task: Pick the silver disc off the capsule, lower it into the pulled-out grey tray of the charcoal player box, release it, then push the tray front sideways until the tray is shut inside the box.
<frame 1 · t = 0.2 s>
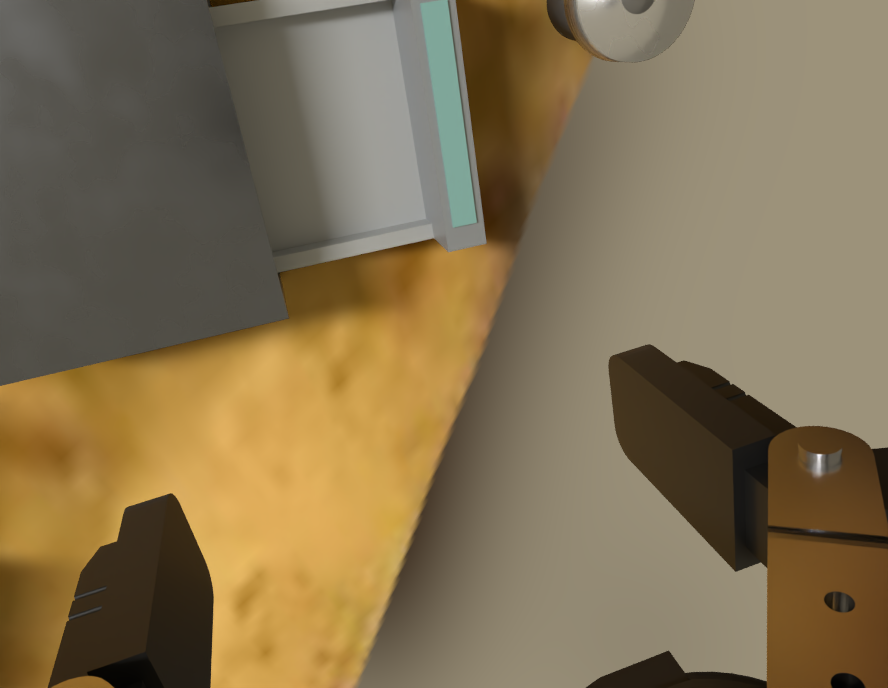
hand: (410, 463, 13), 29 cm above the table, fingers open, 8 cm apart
tray: (307, 138, 35), point 3 cm above the table, slide at 8.0 cm
housing: (104, 168, 36), on the table
capsule: (581, 0, 39), on the table
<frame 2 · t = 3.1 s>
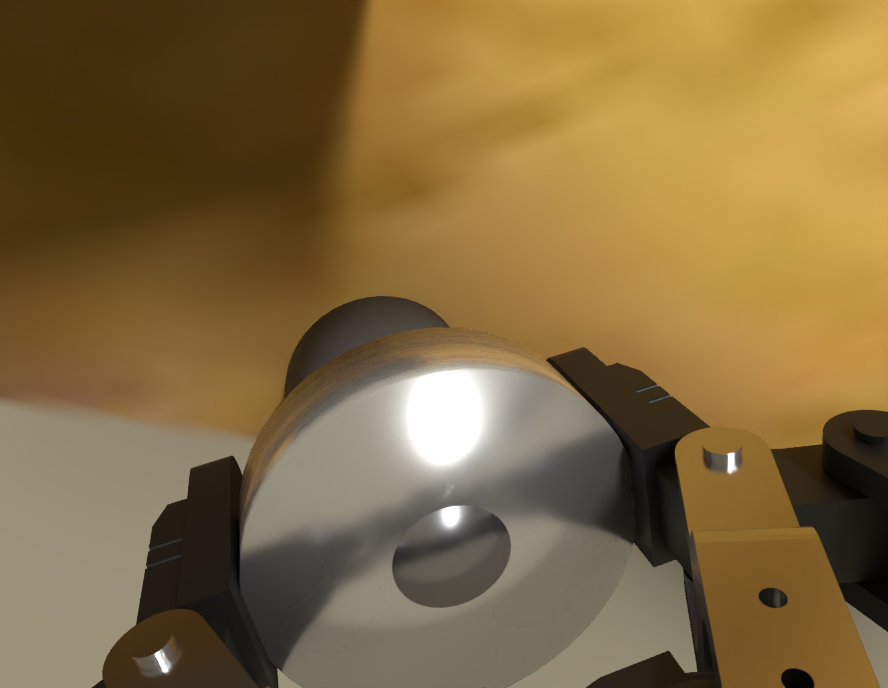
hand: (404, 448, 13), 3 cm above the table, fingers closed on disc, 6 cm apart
disc: (426, 496, 12), point 5 cm above the table, touching gripper, capsule
capsule: (378, 381, 16), on the table
when the fingers open (2 cm above the table, at t = 7.2 s): disc drops 2 cm, resting on tray.
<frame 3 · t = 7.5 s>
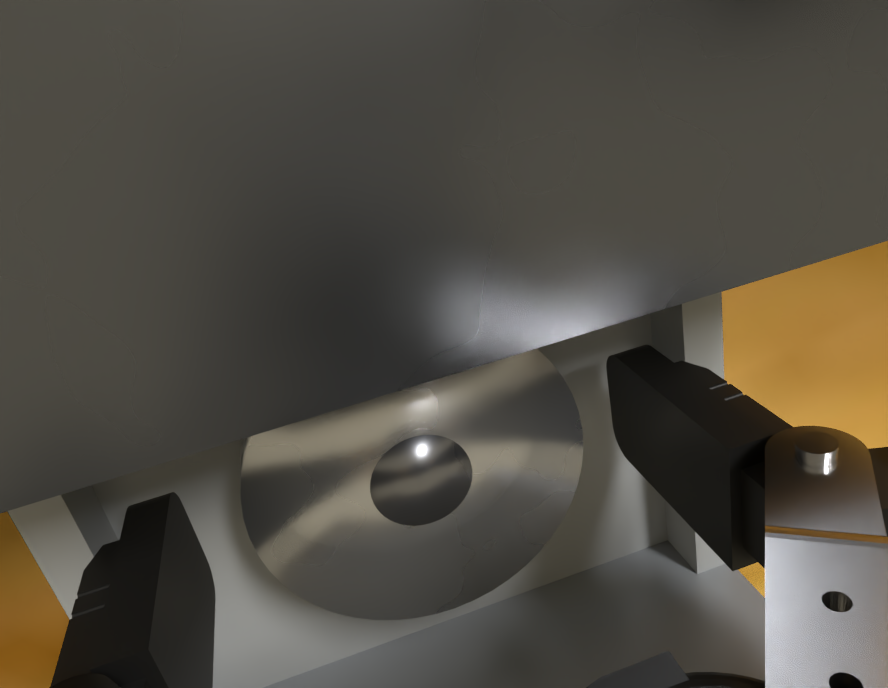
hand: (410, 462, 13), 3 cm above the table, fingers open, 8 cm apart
tray: (408, 449, 12), point 3 cm above the table, slide at 8.0 cm, touching disc
disc: (402, 435, 14), point 2 cm above the table, touching tray
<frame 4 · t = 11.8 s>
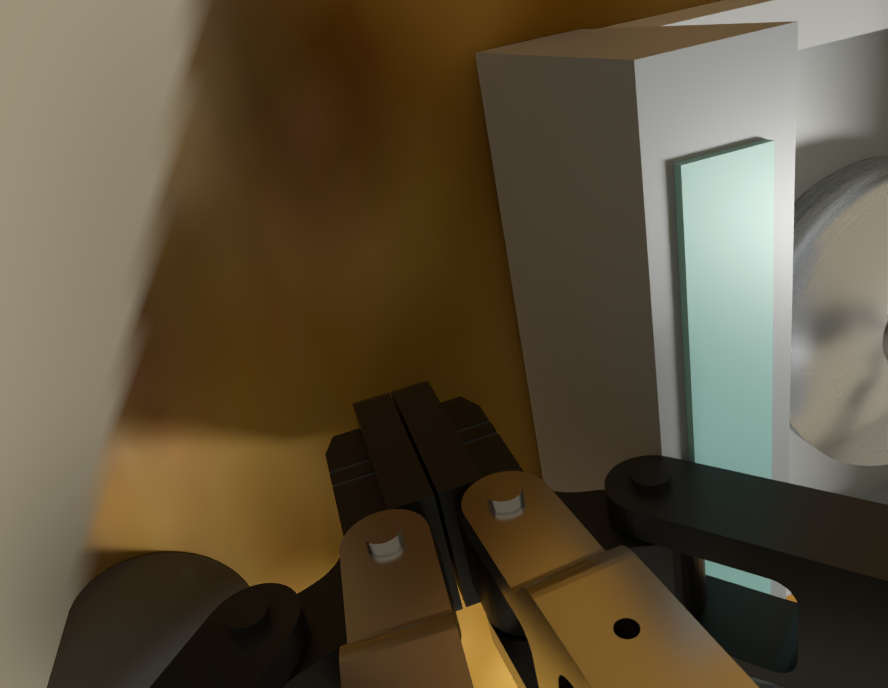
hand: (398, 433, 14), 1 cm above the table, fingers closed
disc: (859, 300, 15), point 2 cm above the table, touching tray
capsule: (165, 627, 16), on the table
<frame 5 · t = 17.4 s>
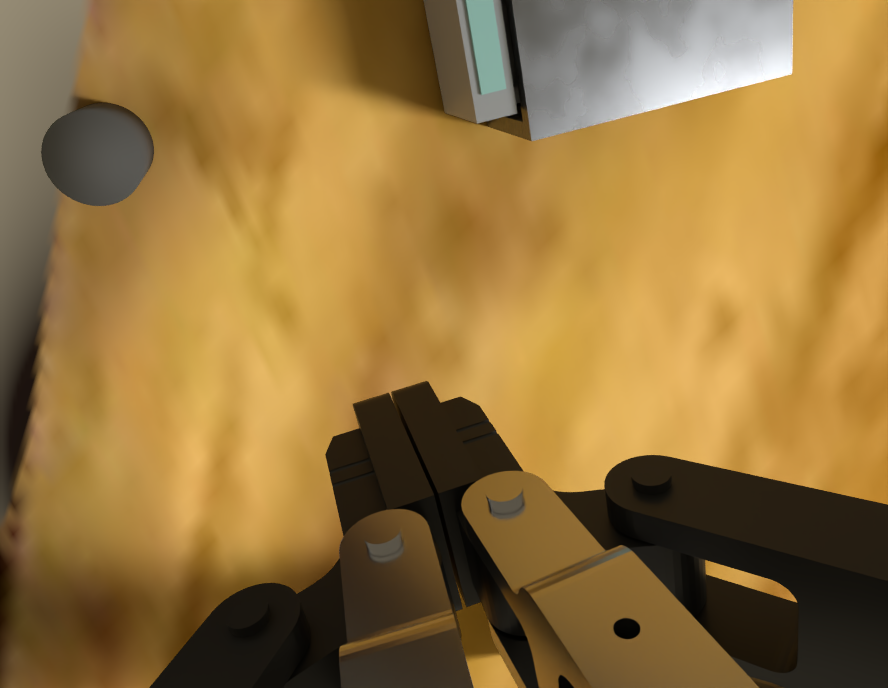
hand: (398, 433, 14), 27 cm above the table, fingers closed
capsule: (109, 146, 35), on the table
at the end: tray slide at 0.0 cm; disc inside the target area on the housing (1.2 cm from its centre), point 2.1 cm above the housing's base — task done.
